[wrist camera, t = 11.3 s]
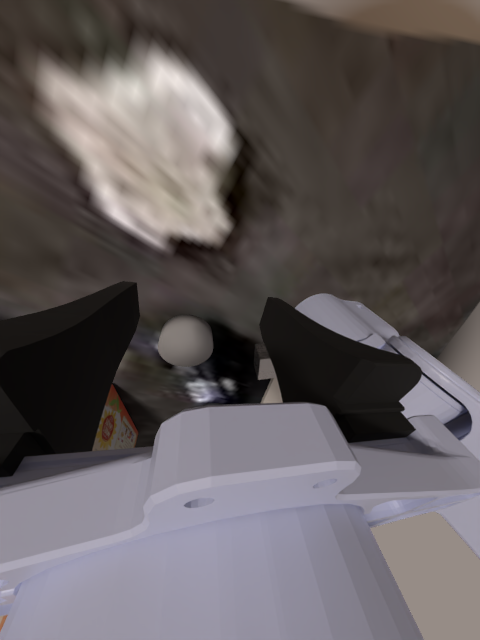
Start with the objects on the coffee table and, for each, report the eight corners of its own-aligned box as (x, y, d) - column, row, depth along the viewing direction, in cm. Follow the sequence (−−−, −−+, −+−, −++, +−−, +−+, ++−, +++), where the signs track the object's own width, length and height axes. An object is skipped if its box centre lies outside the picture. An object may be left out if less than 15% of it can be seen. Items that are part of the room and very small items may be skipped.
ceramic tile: (337, 366, 33) (339, 369, 32) (311, 404, 39) (312, 407, 38) (276, 365, 30) (278, 368, 29) (258, 406, 36) (259, 409, 35)
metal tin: (289, 339, 27) (298, 355, 25) (285, 359, 30) (292, 375, 27) (254, 343, 27) (260, 359, 24) (253, 363, 29) (258, 379, 27)
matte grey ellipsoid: (214, 315, 23) (216, 328, 21) (209, 352, 26) (210, 366, 24) (160, 312, 22) (156, 325, 20) (162, 351, 25) (159, 366, 23)
